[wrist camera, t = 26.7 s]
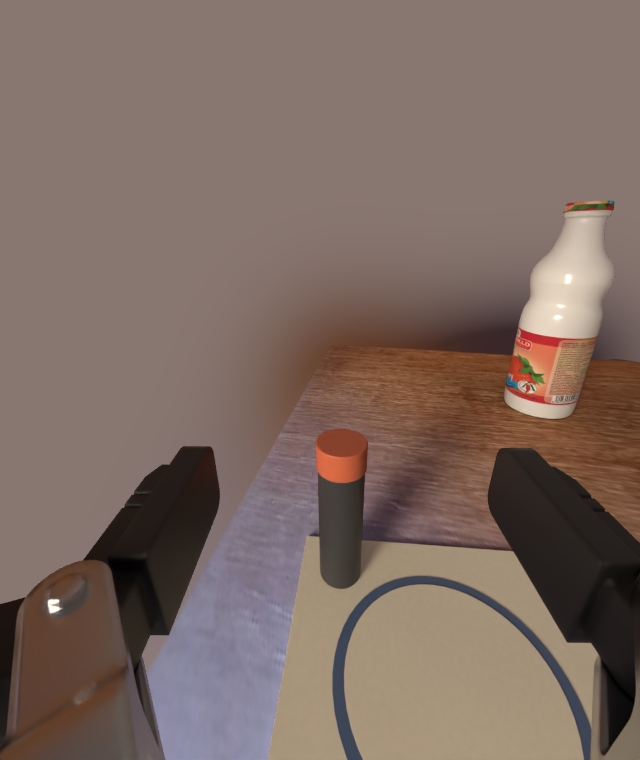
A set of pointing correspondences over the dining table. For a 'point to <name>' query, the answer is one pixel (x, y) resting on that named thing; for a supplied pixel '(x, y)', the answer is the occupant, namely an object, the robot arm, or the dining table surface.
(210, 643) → the dining table surface
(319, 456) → the marker
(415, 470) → the dining table surface
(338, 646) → the paper
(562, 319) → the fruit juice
